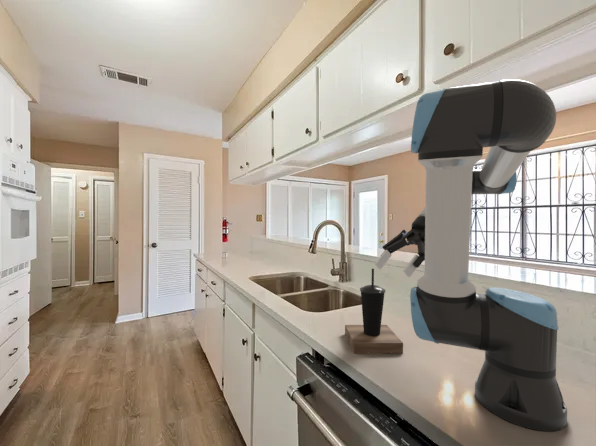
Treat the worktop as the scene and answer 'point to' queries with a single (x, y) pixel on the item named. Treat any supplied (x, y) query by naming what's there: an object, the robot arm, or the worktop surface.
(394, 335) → the walnut riser
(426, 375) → the worktop surface
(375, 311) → the drinking cup
